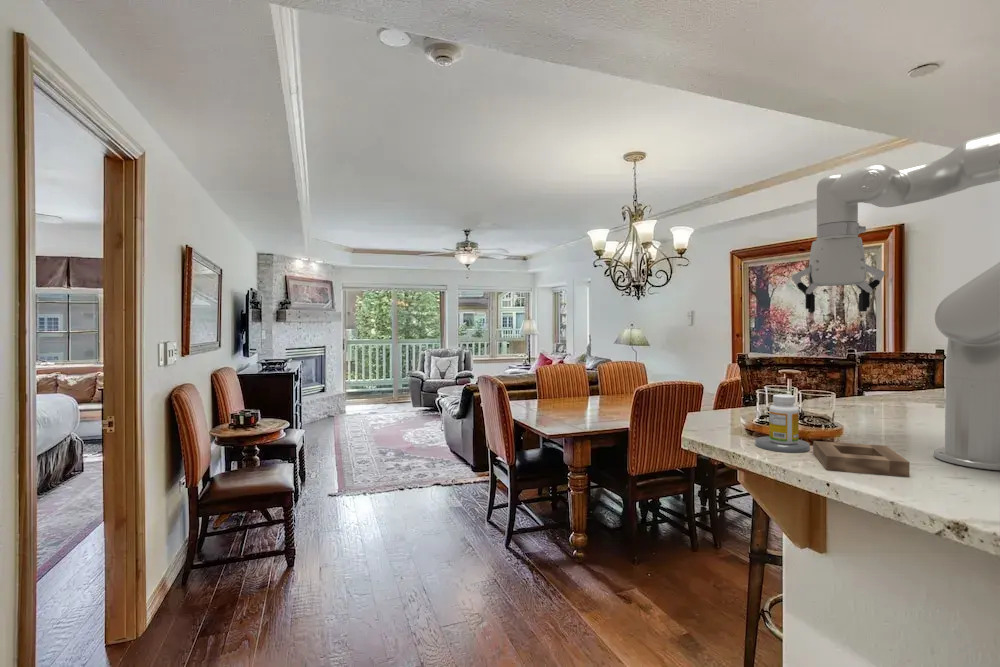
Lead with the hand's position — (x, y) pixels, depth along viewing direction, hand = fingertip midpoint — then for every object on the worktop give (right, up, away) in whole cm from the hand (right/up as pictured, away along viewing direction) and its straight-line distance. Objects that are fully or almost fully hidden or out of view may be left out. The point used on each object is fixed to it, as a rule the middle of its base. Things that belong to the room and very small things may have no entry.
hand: (836, 311), depth 113 cm
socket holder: (-8, -29, -18) cm, 35 cm away
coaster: (-15, -28, -5) cm, 32 cm away
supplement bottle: (-14, -28, -5) cm, 32 cm away
